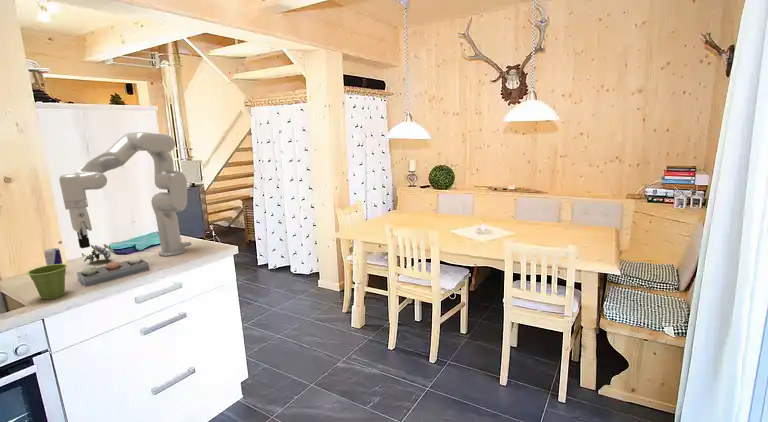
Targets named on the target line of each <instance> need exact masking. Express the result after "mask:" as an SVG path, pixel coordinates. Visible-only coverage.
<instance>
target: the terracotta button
mask: <svg viewBox="0 0 768 422" xmlns="http://www.w3.org/2000/svg"><path fill="white" fill-rule="evenodd" d="M105 266H107V269H116V268H119V267H120V265H119V261H112V262H111V261H110V262H108V263H106V264H105Z"/></svg>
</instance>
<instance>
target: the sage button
mask: <svg viewBox="0 0 768 422" xmlns="http://www.w3.org/2000/svg"><path fill="white" fill-rule="evenodd" d="M96 268H97V267H96V266H92V267H86V268H84V269H82V271H83V274H84V275H92V274H95V273H97V269H96Z"/></svg>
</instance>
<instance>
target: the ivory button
mask: <svg viewBox="0 0 768 422" xmlns="http://www.w3.org/2000/svg"><path fill="white" fill-rule="evenodd" d="M141 259H142V258H141V257H140V256H133V257H129V258H128V260H129V264H136V263H139V262H141Z"/></svg>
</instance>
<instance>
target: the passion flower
mask: <svg viewBox="0 0 768 422" xmlns="http://www.w3.org/2000/svg"><path fill="white" fill-rule="evenodd" d="M102 245H103V247H104V248H103V247H102V246H100V245H96V244H95V245H93V244H90V247H91V248H92V249H93V250H92V251H91V252H90V253H91V254H89V255H86V254H84V253H83V252H81V255H82V257H83V258H84V257H85V258H84V260H83V262H84V263H85V262H86V261H87V260H89V265H91V264H92V262H93V261H94V260H95V259H96V261H99V260H100V255H103V257H104V259H105V260H106V261H107V262H111V260H112V259H110V258H111V256H112V255H111V253H110V251H109V250H111V249H112V248H111V247H110V246H108V245H107V244H106V243H104V244H102ZM106 249H109V250H106Z"/></svg>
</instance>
